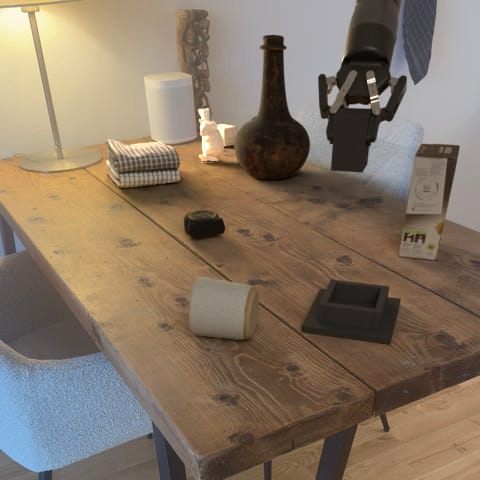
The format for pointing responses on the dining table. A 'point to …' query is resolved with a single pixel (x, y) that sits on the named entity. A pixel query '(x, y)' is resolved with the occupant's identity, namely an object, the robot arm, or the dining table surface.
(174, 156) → the towel
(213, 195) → the dining table surface
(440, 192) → the coffee box
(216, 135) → the white upright figurine
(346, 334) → the base pad
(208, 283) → the off-white cylinder
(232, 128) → the small box
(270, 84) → the glass bottle
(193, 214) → the tape measure
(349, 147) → the dark grey rectangular block
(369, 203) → the dining table surface
